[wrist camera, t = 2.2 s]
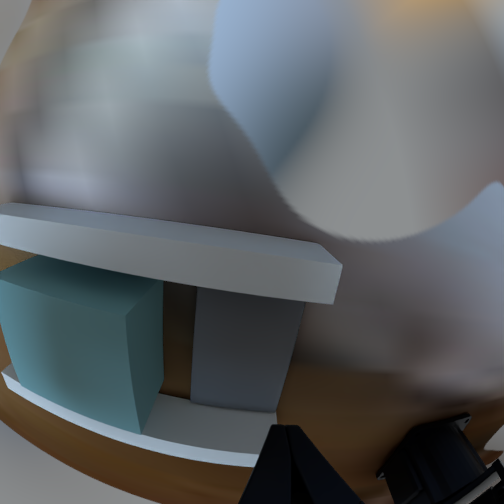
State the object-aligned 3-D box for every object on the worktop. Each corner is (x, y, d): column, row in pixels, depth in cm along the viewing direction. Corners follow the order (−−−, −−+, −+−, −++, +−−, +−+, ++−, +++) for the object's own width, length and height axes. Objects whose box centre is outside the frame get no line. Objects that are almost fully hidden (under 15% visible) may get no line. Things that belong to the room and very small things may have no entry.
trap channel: (318, 243, 10) (342, 265, 8) (271, 425, 13) (274, 468, 10) (12, 202, 10) (-29, 209, 7) (33, 362, 12) (7, 387, 9)
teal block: (165, 272, 11) (125, 315, 7) (165, 377, 12) (141, 435, 8) (46, 251, 11) (-9, 275, 7) (59, 346, 12) (21, 385, 8)
